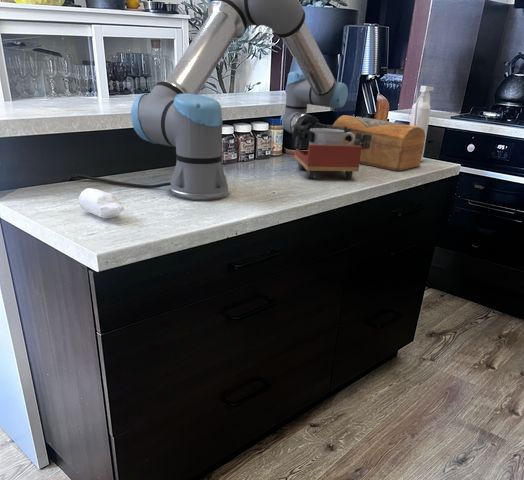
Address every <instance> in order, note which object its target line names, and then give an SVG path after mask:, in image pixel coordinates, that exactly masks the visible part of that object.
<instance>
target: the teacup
mask: <svg viewBox="0 0 524 480" xmlns="http://www.w3.org/2000/svg"><path fill="white" fill-rule="evenodd" d="M310 131H311V132H314V142H310V141H308V146H309V145H343V141H344V140H345V138H346V136H348V135H350V136H351V137H352V140H351V142H350V143H349V144H347V145H345V146H351V145H352V144H353V143H354V141H355V136H354V134H353V133H352V132H347V133H345V131H344V130H339V129H327V128H313V129H310Z"/></svg>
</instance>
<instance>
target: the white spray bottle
mask: <svg viewBox="0 0 524 480" xmlns="http://www.w3.org/2000/svg"><path fill="white" fill-rule="evenodd" d="M434 90H435V87H434V86H428V85H420V88H419V92H420V94H419V96H418V97H417V99H416V101H415V103H413V104H412V106H411V111H410V118H409V125H411V126H417V127H420V128H422V129H423V130H424V133H425V141H424V147H423V152H422V157H421V162H423V160H424V153H425V148H426V141H427V134H428V130H429V129H428V128H429V122H430V117H431V109H432V108H431V105H430V104H431V94H430V92H433V91H434Z"/></svg>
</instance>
